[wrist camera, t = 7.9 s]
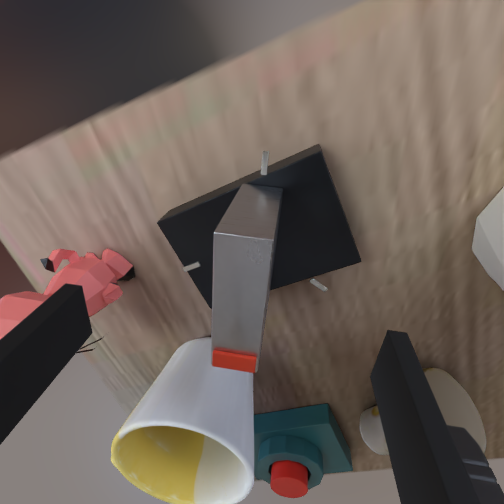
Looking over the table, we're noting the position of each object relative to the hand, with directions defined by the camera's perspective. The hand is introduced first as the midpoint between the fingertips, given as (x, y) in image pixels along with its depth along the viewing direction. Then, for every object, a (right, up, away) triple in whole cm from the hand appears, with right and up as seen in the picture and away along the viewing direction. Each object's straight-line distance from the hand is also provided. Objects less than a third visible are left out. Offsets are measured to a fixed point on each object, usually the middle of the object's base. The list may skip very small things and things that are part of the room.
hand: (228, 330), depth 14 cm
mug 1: (-4, -7, +18) cm, 20 cm away
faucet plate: (+2, +5, +10) cm, 12 cm away
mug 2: (+15, -10, +16) cm, 25 cm away
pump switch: (+5, -17, +21) cm, 28 cm away
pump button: (+5, -18, +18) cm, 26 cm away
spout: (+1, +4, +8) cm, 9 cm away
